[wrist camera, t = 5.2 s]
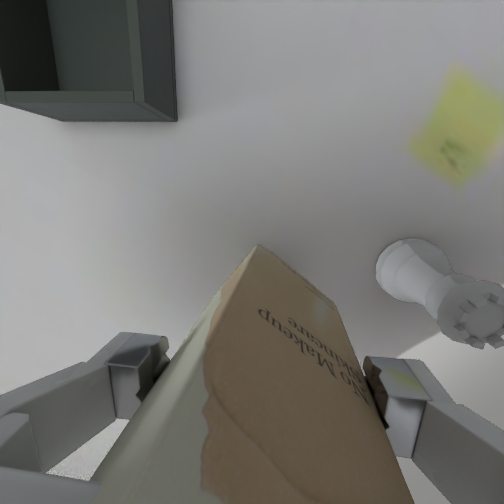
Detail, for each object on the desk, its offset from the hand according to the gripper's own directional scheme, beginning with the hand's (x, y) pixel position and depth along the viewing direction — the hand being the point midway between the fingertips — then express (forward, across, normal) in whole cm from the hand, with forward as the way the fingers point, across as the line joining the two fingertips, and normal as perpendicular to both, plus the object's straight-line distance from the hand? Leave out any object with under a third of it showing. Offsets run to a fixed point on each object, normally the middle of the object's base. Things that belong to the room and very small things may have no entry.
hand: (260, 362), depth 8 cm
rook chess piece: (+12, -10, 0) cm, 16 cm away
